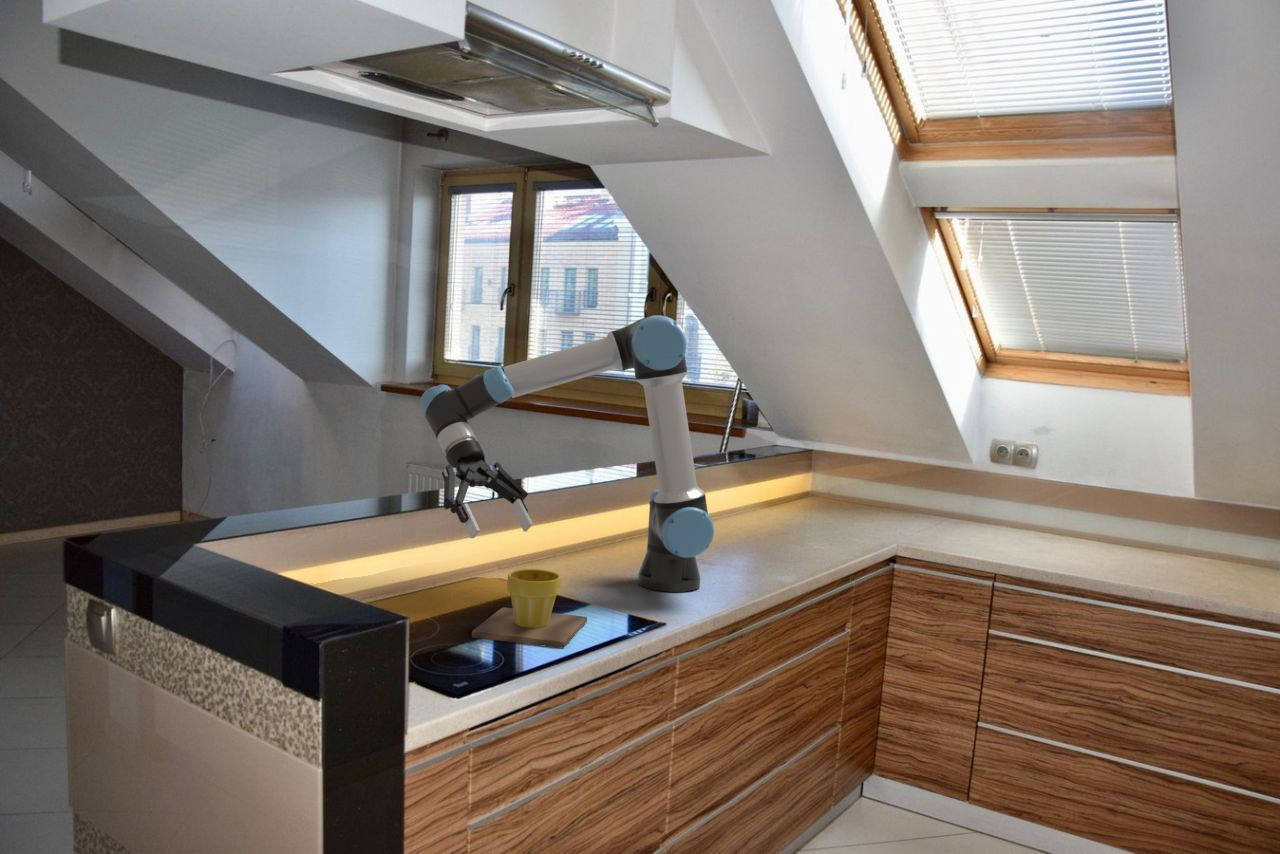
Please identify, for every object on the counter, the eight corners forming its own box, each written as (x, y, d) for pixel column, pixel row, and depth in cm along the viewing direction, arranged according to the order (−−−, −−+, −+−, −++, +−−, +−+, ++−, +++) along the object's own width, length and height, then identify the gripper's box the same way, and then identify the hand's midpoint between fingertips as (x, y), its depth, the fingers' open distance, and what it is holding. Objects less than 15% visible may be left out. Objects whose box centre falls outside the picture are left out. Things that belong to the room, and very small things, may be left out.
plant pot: (558, 632, 183) (561, 582, 182) (503, 630, 182) (506, 579, 181) (558, 617, 193) (561, 569, 192) (506, 615, 192) (509, 567, 191)
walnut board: (586, 622, 195) (587, 616, 195) (564, 648, 177) (564, 642, 177) (502, 612, 198) (502, 607, 198) (471, 637, 180) (472, 631, 180)
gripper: (499, 457, 214) (540, 535, 205) (403, 462, 195) (443, 548, 186) (516, 436, 210) (558, 515, 201) (419, 439, 191) (460, 525, 182)
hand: (502, 531), depth 193 cm, fingers open, 13 cm apart
